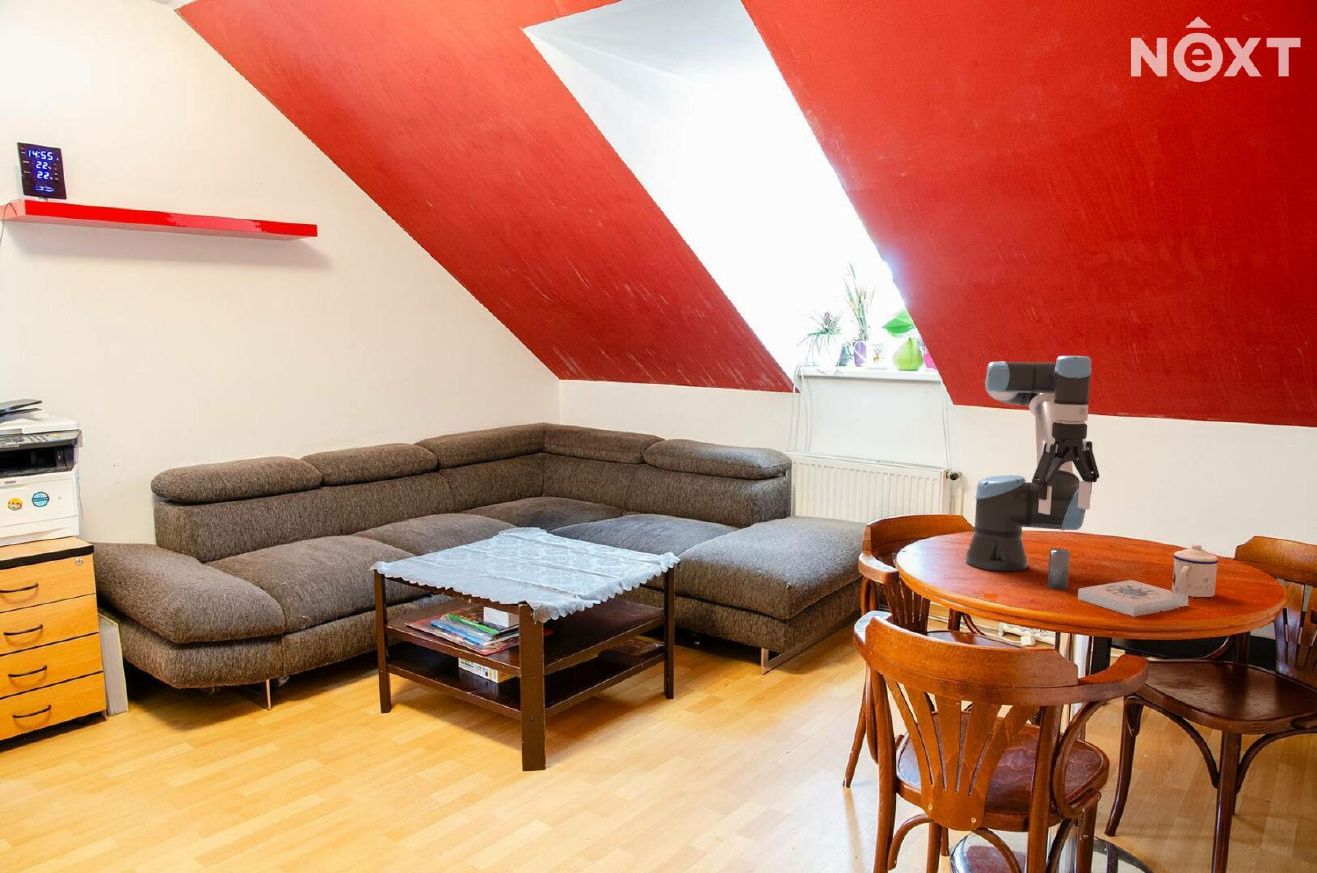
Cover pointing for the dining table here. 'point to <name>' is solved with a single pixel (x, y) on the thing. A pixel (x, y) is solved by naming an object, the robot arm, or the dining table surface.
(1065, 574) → the grey upright prism
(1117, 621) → the dining table surface
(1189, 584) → the teacup with lid
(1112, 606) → the tile
